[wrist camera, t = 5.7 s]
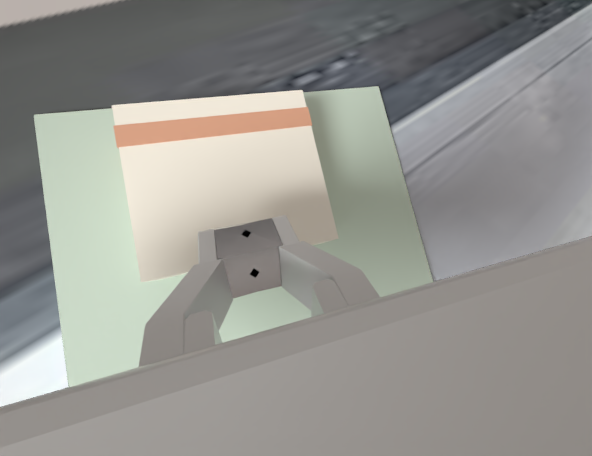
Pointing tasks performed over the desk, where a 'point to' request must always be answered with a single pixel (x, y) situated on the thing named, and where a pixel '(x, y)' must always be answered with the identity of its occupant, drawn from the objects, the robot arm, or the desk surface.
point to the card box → (217, 172)
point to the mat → (150, 295)
